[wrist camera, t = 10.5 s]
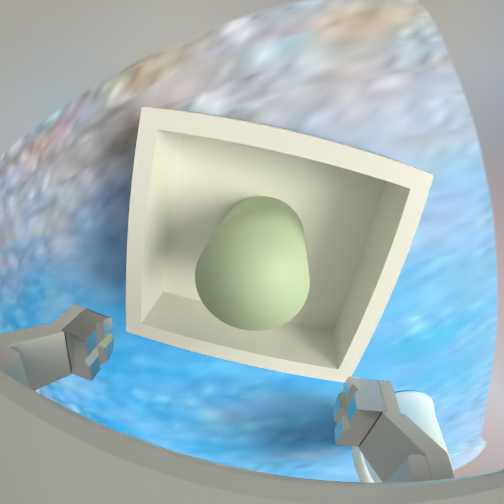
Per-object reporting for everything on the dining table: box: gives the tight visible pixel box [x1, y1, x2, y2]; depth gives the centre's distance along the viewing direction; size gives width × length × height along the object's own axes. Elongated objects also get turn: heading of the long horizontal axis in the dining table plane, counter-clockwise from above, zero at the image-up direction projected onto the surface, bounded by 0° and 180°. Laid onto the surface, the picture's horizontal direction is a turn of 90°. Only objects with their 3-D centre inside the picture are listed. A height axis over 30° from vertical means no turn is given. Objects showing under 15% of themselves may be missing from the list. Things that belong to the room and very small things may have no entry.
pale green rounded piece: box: [195, 196, 310, 331], centre depth 17 cm, size 5×5×6 cm
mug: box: [352, 391, 455, 483], centre depth 20 cm, size 12×8×12 cm
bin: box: [126, 107, 434, 382], centre depth 18 cm, size 13×14×5 cm
